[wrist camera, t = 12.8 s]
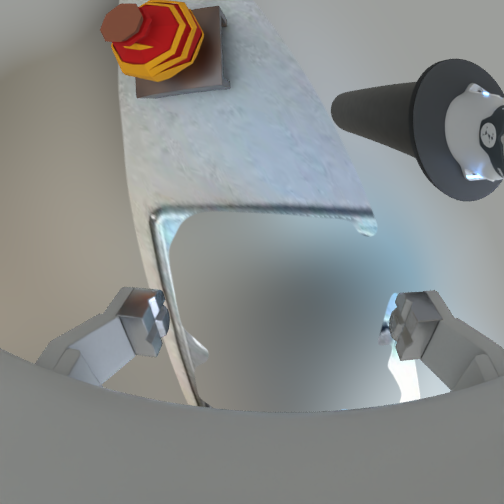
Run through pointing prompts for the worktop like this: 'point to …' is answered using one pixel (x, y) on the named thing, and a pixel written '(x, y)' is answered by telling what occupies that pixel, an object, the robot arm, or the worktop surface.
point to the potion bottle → (153, 38)
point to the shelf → (195, 62)
